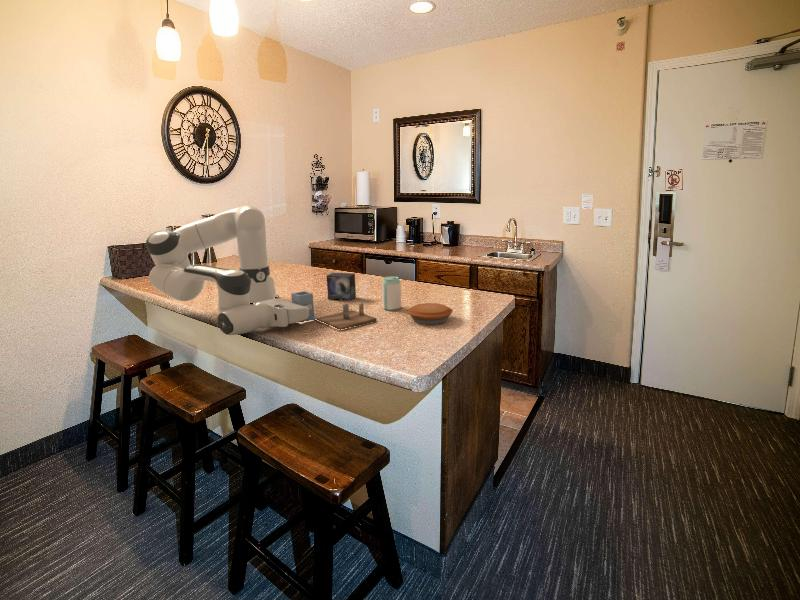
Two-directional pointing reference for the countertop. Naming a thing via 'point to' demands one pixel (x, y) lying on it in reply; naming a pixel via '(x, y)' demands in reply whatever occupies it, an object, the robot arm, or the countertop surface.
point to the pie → (430, 313)
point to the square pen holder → (304, 302)
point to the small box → (341, 286)
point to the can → (391, 293)
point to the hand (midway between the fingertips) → (304, 304)
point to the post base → (346, 322)
